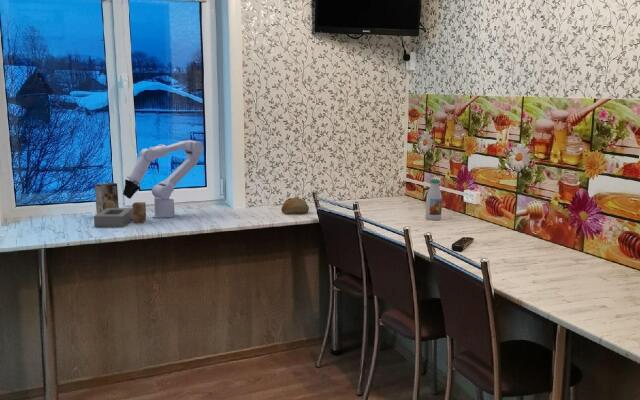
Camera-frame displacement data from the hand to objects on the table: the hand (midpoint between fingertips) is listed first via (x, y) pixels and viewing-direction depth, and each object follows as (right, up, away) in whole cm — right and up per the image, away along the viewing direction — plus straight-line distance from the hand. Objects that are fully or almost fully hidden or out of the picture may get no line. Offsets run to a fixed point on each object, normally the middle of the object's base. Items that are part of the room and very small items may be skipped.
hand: (126, 196), depth 279 cm
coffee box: (-15, -9, +16) cm, 24 cm away
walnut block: (+6, -12, +1) cm, 13 cm away
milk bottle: (+150, -11, +13) cm, 151 cm away
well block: (-5, -12, 0) cm, 13 cm away
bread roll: (+80, -9, +25) cm, 84 cm away
